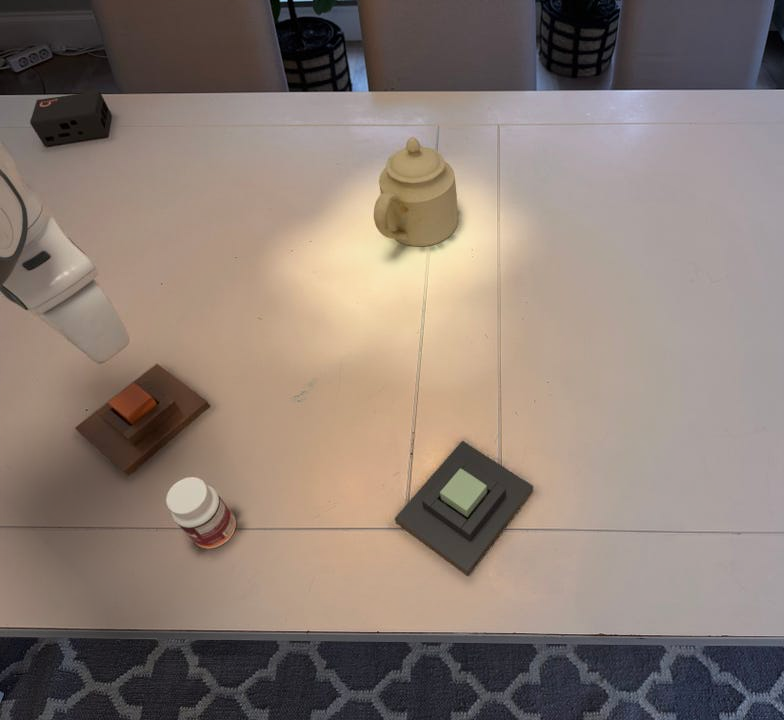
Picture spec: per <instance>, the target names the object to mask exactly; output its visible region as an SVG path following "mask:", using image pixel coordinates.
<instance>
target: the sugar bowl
mask: <svg viewBox="0 0 784 720" xmlns="http://www.w3.org/2000/svg"><path fill="white" fill-rule="evenodd" d="M378 184H379V191H380V192H379V193H380V195H379V196H378V197H377V199H376V201H375V204H374V208H373V220H374V225H375V227H376V229H377V230H378V232H379V233H380V234H381V235H382V236H384V237H386V238H389V239H392V240H396V241H397V242H399V243H401V244H404V245H407V246H413V247H427V246H432V245H436V244H439V243H441V242H443V241H445V240H447V239H448V238H449V237H450V236H452V235H453V233H454V232H455V231H456V229H457V227H458V222H459V216H458V215H459V214H458V196H457V184H456V175H455V171H454V169H453V167H452V166H451V165H450V164H449V163H448V162H446V160H445V157H444V155H442V153H440V152H439V151H438V150H436V149H434V148H430V147H427V146H423V145H421V144H420V141H419V140H418V139H417V138H415V137H414V136H411V137H409V139H408V140H407V141H406V146H405V147H404V148H402V149H400V150H398V151H396V152H394V153H393V154H392V155H391V156H390V157H388V159H387V161H386V164H385V168H384V169H383V170H382V171H381V172H380V175H379V180H378Z"/></svg>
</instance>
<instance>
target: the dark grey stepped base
mask: <svg viewBox="0 0 784 720" xmlns="http://www.w3.org/2000/svg"><path fill="white" fill-rule="evenodd" d="M460 468H461V469H463V470H464V471H466V472H467V473H469V474H470V475H472V476H473V477H475V478H476V479H478V480H479V481H481V482H482V483H484V484H485V485H487V494H486V495H485V496H484V498H483V499H482V500H481V501H480V502H479V504H478V505H477V506H476V507H475V509H474V510H473V511H472V512H471V514H470V515H469V516H468V517H466V516H464V515H463V514H461V513H460V512H458V511H457V510H456V509H454V508H453V507H451V506H450V505H448V504H447V503H445V502H444V501H443V500H441V496H440V492H441V490H442V489H443V488H444V487H445V486H446V484H447V483H448V482H449V481H450V480H451V479H452V477H453V476H454V475H455V474H456V473H457V472H458V470H459V469H460ZM533 492H534V485H533V484H531V483H530V482H528V481H526V480H525V479H523V478H522V477H520V476H518V475H517V474H515V473H514V472H512V471H510V470H509V469H507V468H506V467H504V466H503V465H501V464H500V463H499V462H497V461H495V460H494V459H492V458H491V457H489V456H487V455H486V454H484V453H483V452H481V451H479V450H478V449H476V448H475V447H473V446H472V445H470V444H469V443H467V442H466V441H464V440H461V441H460V443H458V445H457V446H456V447H455V448H454V449H453V450H452V451H451V453H450V454H449V455H448V456H447V457H446V459H444V461H443V462H442V463H441V464H440V465H439V467H437V469H436V470H435V471H434V473H432V475H431V476H430V477H429V478H428V479H427V480H426V482H425V483H424V484H423V485H422V486H421V487H420V489H419V490H418V491H417V492H416V493H415V494H414V495H413V497H411V499H410V500H409V501H408V502H407V503H406V504H405V505H404V507H403V508H402V509H401V510H400V512H399V513H397V515H396V516H395V517H394V521H395V524H396V525H398V526H399V527H401V528H402V529H403V530H405V531H406V532H407V533H409V535H412V536H413V537H414V538H415V539H417V540H419V541H420V542H421V543H422V544H424V545H425V546H426V547H428V548H429V549H430V550H432V551H433V552H434V553H436V554H437V555H438V556H440V557H441V558H443V559H444V560H446V561H447V562H448V563H450V564H451V565H453V566H454V567H455V568H457V570H459V571H460V572H462V573H463V574H465V575H466V576H468V577H469V576H470V574H471V573H472V572H473V570H475V568H476V567H477V565H478V564H479V563H480V561H481V560H482V559H483V558H484V556H485V555H486V553H487V552H488V551H489V549H490V548H491V547H492V546H493V545H494V543H495V541H497V539H498V538H499V536H500V535H501V534H502V533H503V532H504V530H505V529H506V528H507V527H508V525H509V524H510V522H511V521H512V520H513V518H515V515H517V513H518V512H519V510H520V509H521V508H522V506H524V504H525V502H527V500H528V499H529V497H530V496H531V495H532V493H533Z"/></svg>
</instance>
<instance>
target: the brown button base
mask: <svg viewBox="0 0 784 720" xmlns="http://www.w3.org/2000/svg"><path fill="white" fill-rule="evenodd" d="M132 383H135V384H136V385H138V386H139V387H140V388H141V389H143V390H144V391H145V392H147V393H148V394H149V395H150V396H152V398H153V399H154V400H155V402H156V403H157V405H156V406H155V407H154V408H153V409H152V410H150V411H149V412H148V413H147V414H145V415H144V416H143V417H142V418H141V419H139V420H138V421H137V422H136V423H135V424H133V425H132V424H130V423H129V422H128V421H127V420H126V419H124V418H123V417H122V416H121V415H120V414H118V413H117V412H116V411H115V410H114V409H113V408H112V407H111V405H110V404H109V403H108V402H109V401H111V400H112V399H113V398H114V397H116V396H117V395H118V394H119V393H121V392H122V391H123V390H125V389H126V388H127V387H128V386H130V385H131V384H132ZM209 407H211V405H210V403H209V402H208V401H207V399H205V398H204V397H203V396H201V395H200V394H198V393H197V392H196V391H194V390H193V389H192V388H191V387H190V386H188V385H187V384H186V383H184V382H182V381H181V380H180V379H178V378H177V377H176V376H174V375H173V374H172V373H171V372H169V371H168V370H167V369H165V368H164V367H163V366H161V365H160V364H159V363H155V364H154V365H153V366H151V367H150V368H149V369H147V371H145V372H144V373H143V374H141V375H140V376H139V377H137V378H136V379H134V381H132V382H131V383H129V384H128V385H127V386H126V387H124V388H123V389H122V390H121V391H119V392H118V393H117V394H115V396H113V397H112V398H111V399H110V400H108V401H107V402H106V403H104V404H103V405H102V406H100V407H99V408H98V409H97V410H95V411H94V412H93V413H91V415H89V416H88V417H87V418H85V419H84V420H83V421H82V422H80V423H79V424H78V425H76V426H75V427H74V429H75V430H76V431H77V432H78V433H79V434H80V435H81V436H82V437H84V439H85V440H87V441H88V442H89V443H90V444H91V445H92V446H94V447H95V448H96V449H97V450H98V451H99V452H100V453H102V454H103V455H104V456H105V457H106V458H107V459H108V460H110V461H111V462H112V463H113V464H114V465H115V466H117V468H119V470H122V472H123V473H124V474H125V475H127V476H128V477H130V476H131V475H132V474H133V473H134V472H135V471H137V469H138V468H139V469H140V467H141V466H142V465H144V464H145V463H146V462H147V461H148V460H149V459H151V458H152V457H153V456H154V455H155V454H156V453H157V452H159V451H160V450H161V449H162V448H163V447H164V446H166V445H167V444H168V443H170V441H171V440H172V439H174V438H175V437H176V436H177V435H178V434H179V433H181V432H182V431H183V430H184V429H186V428H187V426H189V425H190V424H191V423H192V422H194V421H195V420H196V419H197V418H198V417H199V416H201V415H202V414H203V413H204V412H205V411H206V410H208V408H209Z"/></svg>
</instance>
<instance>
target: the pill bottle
mask: <svg viewBox="0 0 784 720" xmlns="http://www.w3.org/2000/svg"><path fill="white" fill-rule="evenodd" d="M165 502H166V507H167V508H168V510H169V511H170V513H171V517H172V519H173V521H174V522H175V523H176V524H177V526H178V527H180V528H181V529H182V530H183V532H184V533H185V534H186V535H187V536H188V537H189V538H190V539H191V541H193V542H194V544H196V545H197V546H198V547H200V548H203V549H215V548H218V547H221V546H222V545H224V544H225V543H226V542H228V541H229V540H230V539H231V537H232V536H233V534H234V532H235V530H236V526H237V522H236V521H237V520H236V517H235V515H234V513H233V512H232V511H231V509H230V508H229V507H228V505H227V504H226V502H225V501H224V499H223V498H222V497H221V495H219V493H218V492H217V491H216V489H214V488H213V487H212V486H210V485H208V484H206V483H205V482H204V481H203V480H202V479H201V478H198V477H195V476H190V477H184V478H182V479H180V480H178V481H176V482H175V483H174V484H173V485H172V486H171V487H170V489H168V492H167V494H166V497H165Z"/></svg>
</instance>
